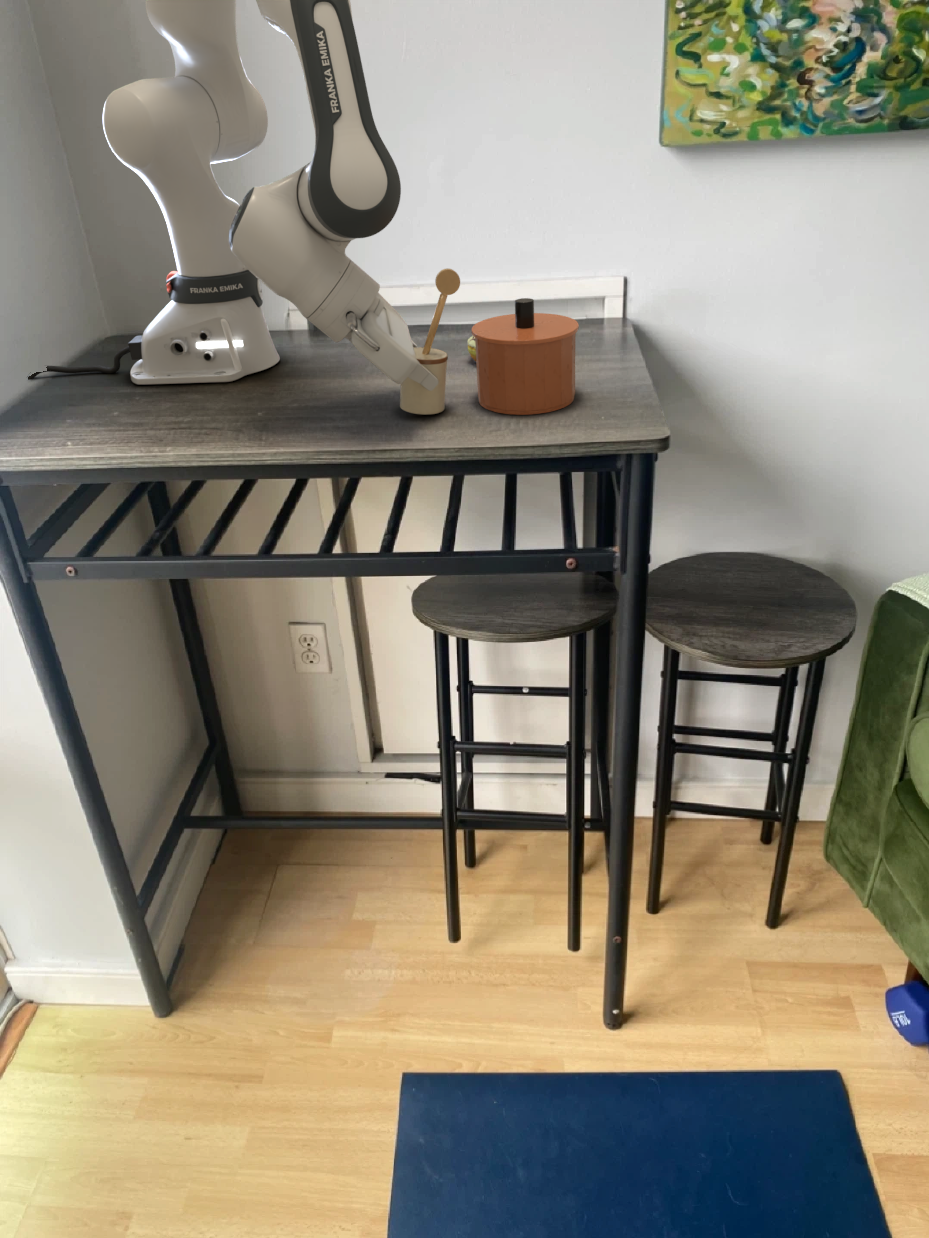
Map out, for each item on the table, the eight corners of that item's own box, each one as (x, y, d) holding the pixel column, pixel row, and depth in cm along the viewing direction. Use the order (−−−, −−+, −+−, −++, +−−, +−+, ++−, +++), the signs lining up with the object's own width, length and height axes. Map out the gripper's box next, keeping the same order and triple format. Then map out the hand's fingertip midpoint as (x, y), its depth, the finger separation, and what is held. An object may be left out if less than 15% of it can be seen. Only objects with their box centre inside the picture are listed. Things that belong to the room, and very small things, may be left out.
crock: (401, 414, 120) (405, 272, 111) (398, 399, 125) (402, 262, 116) (454, 415, 121) (463, 274, 112) (449, 401, 126) (457, 265, 117)
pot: (486, 419, 119) (482, 347, 114) (473, 388, 130) (469, 322, 125) (583, 409, 120) (584, 338, 115) (563, 380, 131) (563, 314, 126)
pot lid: (479, 354, 114) (477, 317, 112) (465, 326, 126) (464, 293, 123) (589, 344, 115) (590, 308, 113) (566, 317, 127) (566, 284, 124)
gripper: (365, 303, 105) (457, 382, 111) (361, 268, 122) (440, 338, 128) (330, 347, 107) (422, 422, 113) (331, 306, 124) (411, 373, 130)
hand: (432, 377), depth 121 cm, fingers closed on crock, 6 cm apart
